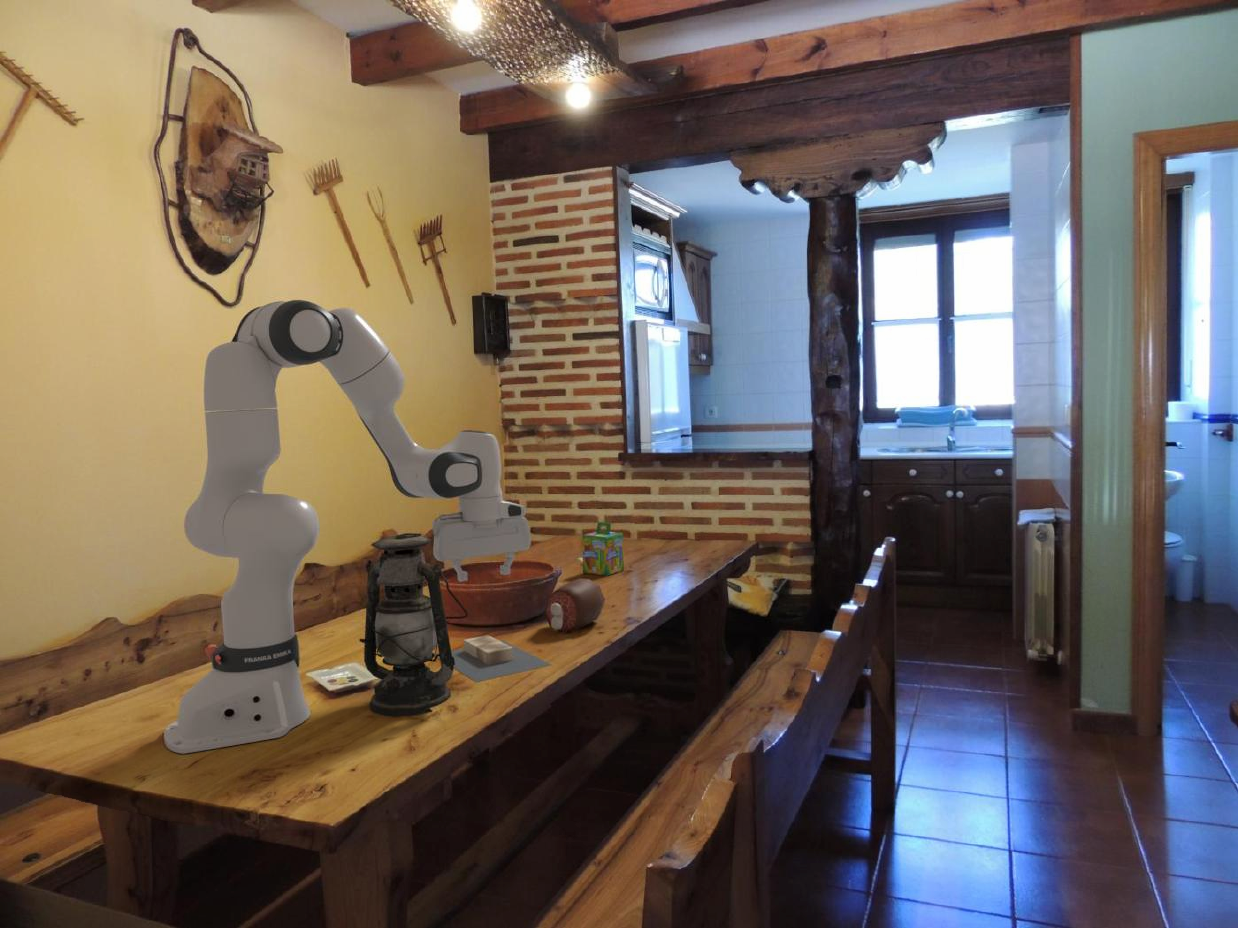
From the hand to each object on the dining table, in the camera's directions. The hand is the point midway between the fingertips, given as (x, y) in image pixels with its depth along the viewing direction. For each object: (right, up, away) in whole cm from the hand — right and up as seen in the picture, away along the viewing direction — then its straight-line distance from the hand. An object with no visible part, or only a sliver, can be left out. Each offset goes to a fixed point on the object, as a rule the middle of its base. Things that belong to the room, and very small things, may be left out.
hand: (484, 577), depth 179 cm
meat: (+17, -15, +23) cm, 32 cm away
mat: (+1, -17, -2) cm, 17 cm away
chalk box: (+23, -9, +83) cm, 86 cm away
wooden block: (+4, -15, -4) cm, 16 cm away
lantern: (-9, -19, -20) cm, 29 cm away
